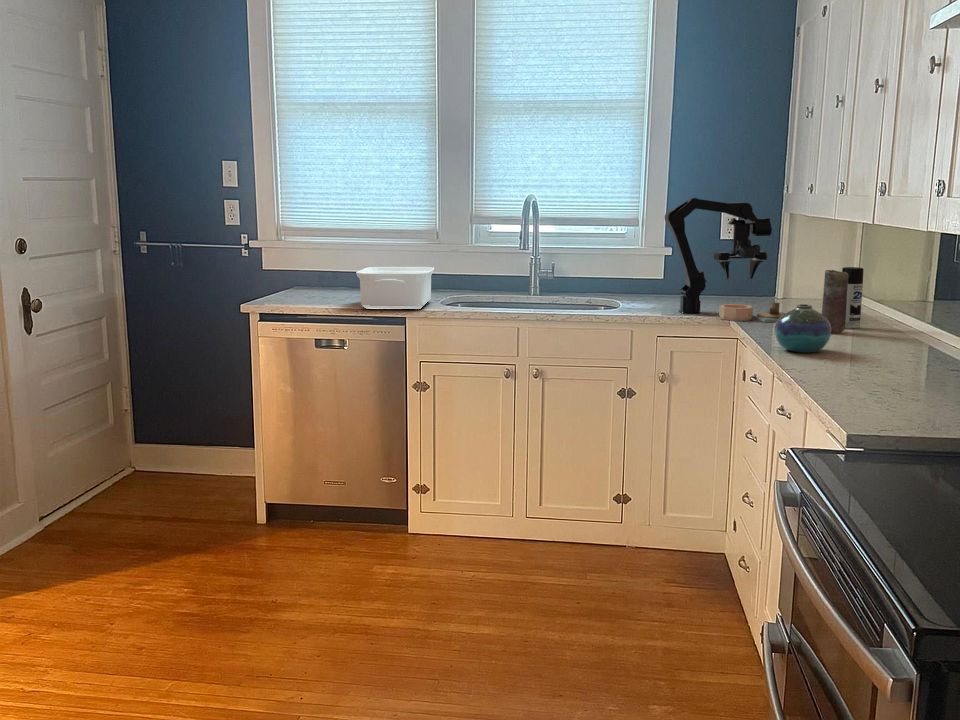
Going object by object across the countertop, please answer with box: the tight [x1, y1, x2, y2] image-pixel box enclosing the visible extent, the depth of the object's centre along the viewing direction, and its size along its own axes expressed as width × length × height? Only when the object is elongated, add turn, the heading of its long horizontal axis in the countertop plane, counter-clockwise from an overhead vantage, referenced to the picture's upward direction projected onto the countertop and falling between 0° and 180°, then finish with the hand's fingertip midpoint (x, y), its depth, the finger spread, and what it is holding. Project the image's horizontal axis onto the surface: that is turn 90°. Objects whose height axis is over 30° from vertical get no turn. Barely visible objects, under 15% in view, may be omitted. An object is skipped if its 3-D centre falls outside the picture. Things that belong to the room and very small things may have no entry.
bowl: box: [718, 303, 754, 322], centre depth 317 cm, size 11×11×4 cm
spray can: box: [841, 266, 865, 330], centre depth 294 cm, size 7×7×20 cm
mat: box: [751, 313, 778, 323], centre depth 316 cm, size 13×13×1 cm
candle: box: [821, 269, 849, 334], centre depth 285 cm, size 8×7×20 cm
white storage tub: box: [355, 266, 435, 307], centre depth 355 cm, size 34×29×15 cm
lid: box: [756, 301, 787, 319], centre depth 315 cm, size 12×12×5 cm
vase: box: [774, 303, 832, 354], centre depth 255 cm, size 15×15×13 cm
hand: (739, 279), depth 330 cm, fingers open, 9 cm apart
